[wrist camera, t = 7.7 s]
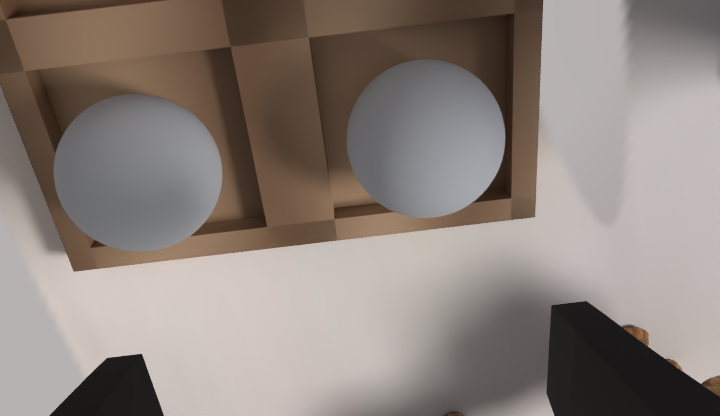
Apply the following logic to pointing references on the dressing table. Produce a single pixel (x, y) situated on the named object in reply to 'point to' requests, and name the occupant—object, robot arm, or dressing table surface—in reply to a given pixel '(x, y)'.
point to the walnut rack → (268, 102)
